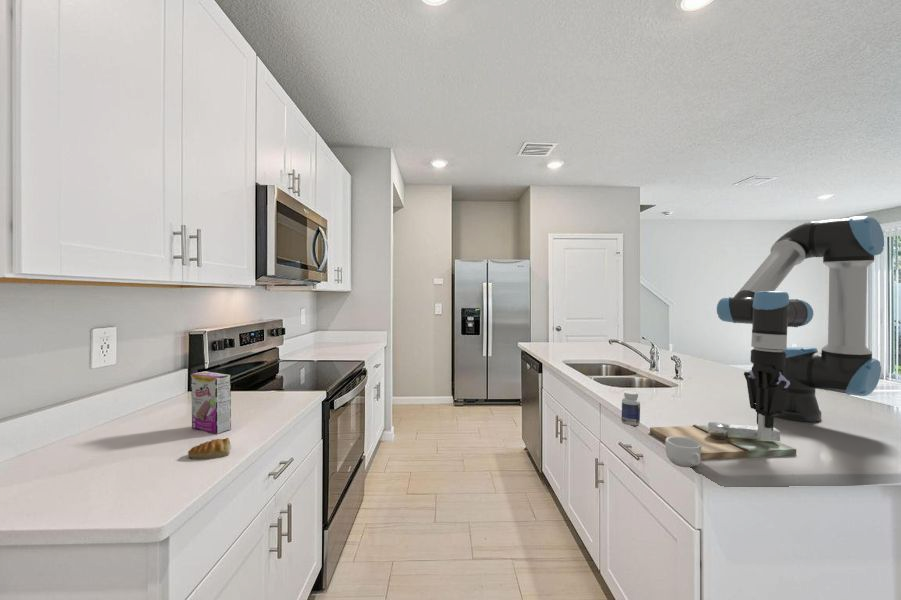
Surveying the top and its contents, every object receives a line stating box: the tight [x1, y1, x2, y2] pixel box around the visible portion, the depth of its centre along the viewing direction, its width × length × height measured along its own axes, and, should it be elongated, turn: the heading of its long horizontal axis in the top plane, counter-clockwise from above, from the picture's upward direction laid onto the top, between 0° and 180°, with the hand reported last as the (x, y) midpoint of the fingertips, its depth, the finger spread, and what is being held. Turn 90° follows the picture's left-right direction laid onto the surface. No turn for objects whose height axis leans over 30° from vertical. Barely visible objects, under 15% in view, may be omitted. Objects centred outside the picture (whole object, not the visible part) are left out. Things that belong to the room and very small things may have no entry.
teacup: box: [664, 436, 702, 468], centre depth 106 cm, size 10×8×5 cm
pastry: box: [187, 437, 232, 460], centre depth 109 cm, size 9×7×4 cm
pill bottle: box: [620, 390, 641, 426], centre depth 138 cm, size 5×5×10 cm
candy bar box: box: [190, 370, 232, 435], centre depth 128 cm, size 11×5×16 cm, turn 65°
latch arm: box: [707, 421, 781, 442], centre depth 119 cm, size 16×5×4 cm, turn 75°
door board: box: [649, 424, 797, 460], centre depth 121 cm, size 28×20×2 cm
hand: (764, 438), depth 115 cm, fingers closed
